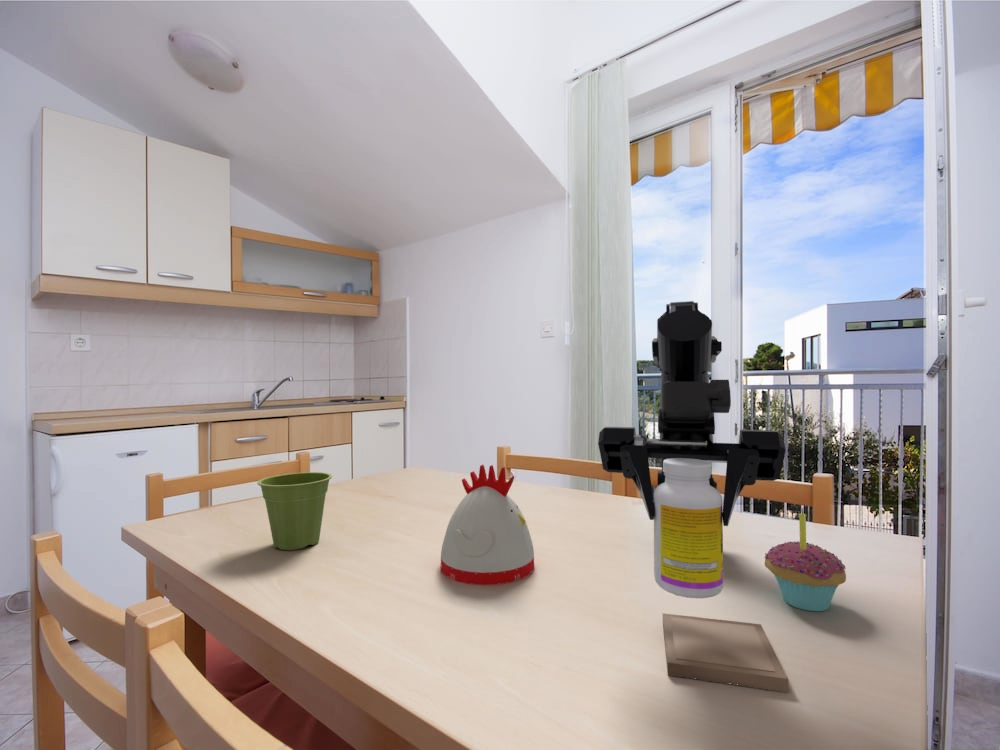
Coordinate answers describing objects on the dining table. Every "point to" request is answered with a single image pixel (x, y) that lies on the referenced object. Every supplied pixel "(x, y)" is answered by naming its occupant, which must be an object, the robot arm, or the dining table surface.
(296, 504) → the plant pot
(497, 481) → the kitchen timer
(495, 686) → the dining table surface
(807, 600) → the cupcake
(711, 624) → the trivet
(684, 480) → the supplement bottle
